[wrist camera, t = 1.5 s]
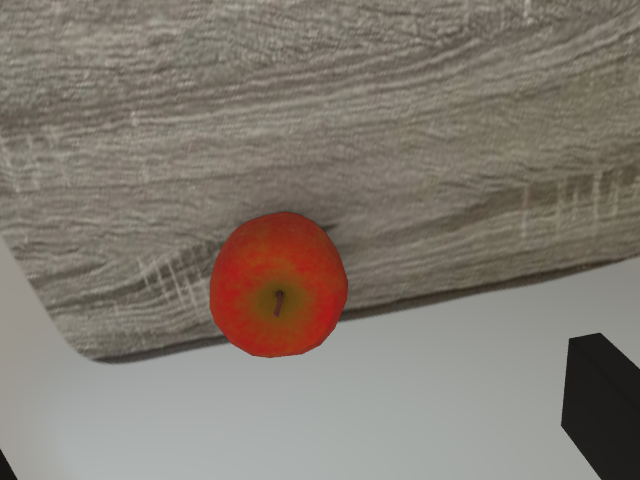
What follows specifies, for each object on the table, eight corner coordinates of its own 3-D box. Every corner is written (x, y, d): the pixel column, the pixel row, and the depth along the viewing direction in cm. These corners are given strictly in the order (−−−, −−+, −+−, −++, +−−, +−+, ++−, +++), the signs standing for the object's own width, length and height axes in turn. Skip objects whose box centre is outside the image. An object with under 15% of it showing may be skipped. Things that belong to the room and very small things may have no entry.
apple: (291, 165, 26) (304, 218, 19) (350, 252, 29) (381, 326, 22) (193, 228, 27) (173, 301, 20) (259, 308, 29) (261, 396, 23)
